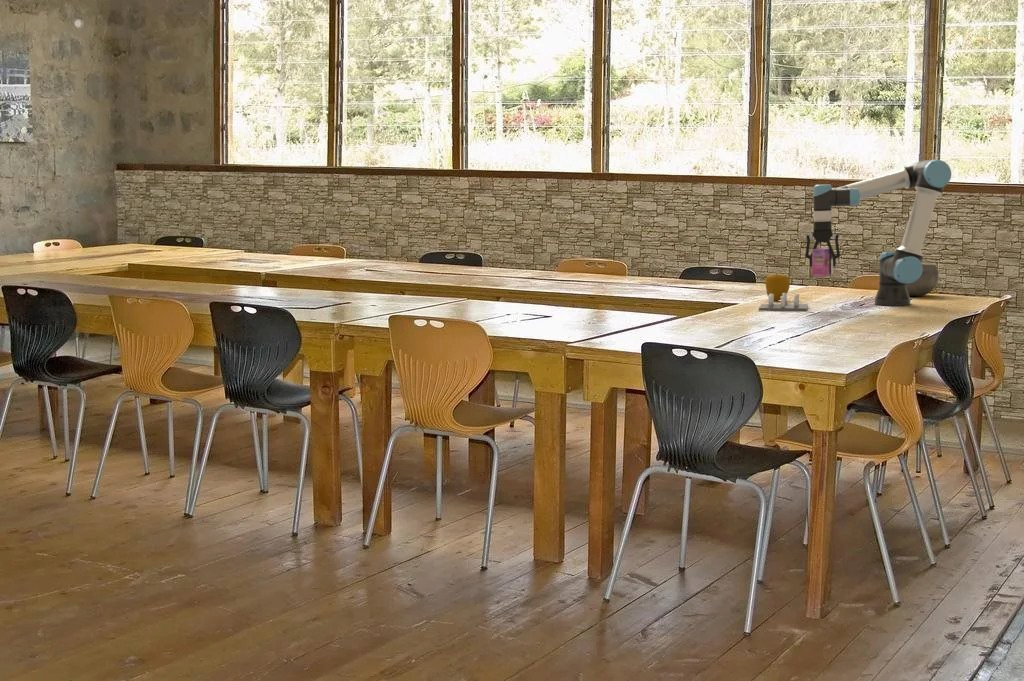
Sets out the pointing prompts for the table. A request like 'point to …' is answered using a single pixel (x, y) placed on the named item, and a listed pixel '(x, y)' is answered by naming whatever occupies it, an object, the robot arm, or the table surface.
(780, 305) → the pin tray
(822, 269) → the box
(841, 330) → the table surface
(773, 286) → the apple
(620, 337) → the table surface
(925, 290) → the bowl
